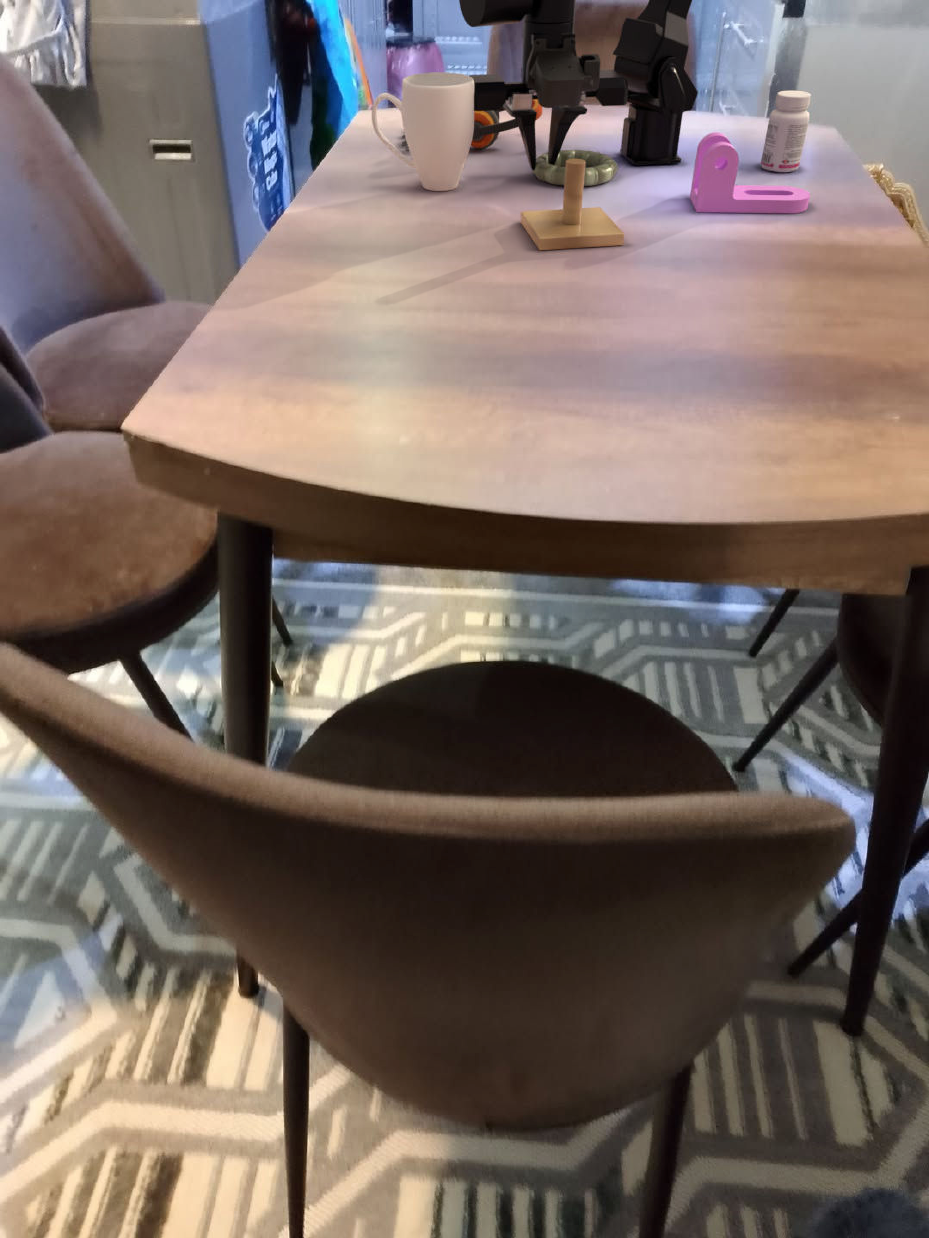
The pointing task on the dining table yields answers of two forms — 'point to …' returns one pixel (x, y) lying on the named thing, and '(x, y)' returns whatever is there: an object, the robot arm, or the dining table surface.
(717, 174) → the bracket
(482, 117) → the headphones
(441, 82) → the mug
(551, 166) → the ring
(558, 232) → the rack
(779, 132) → the pill bottle
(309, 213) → the dining table surface
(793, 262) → the dining table surface
